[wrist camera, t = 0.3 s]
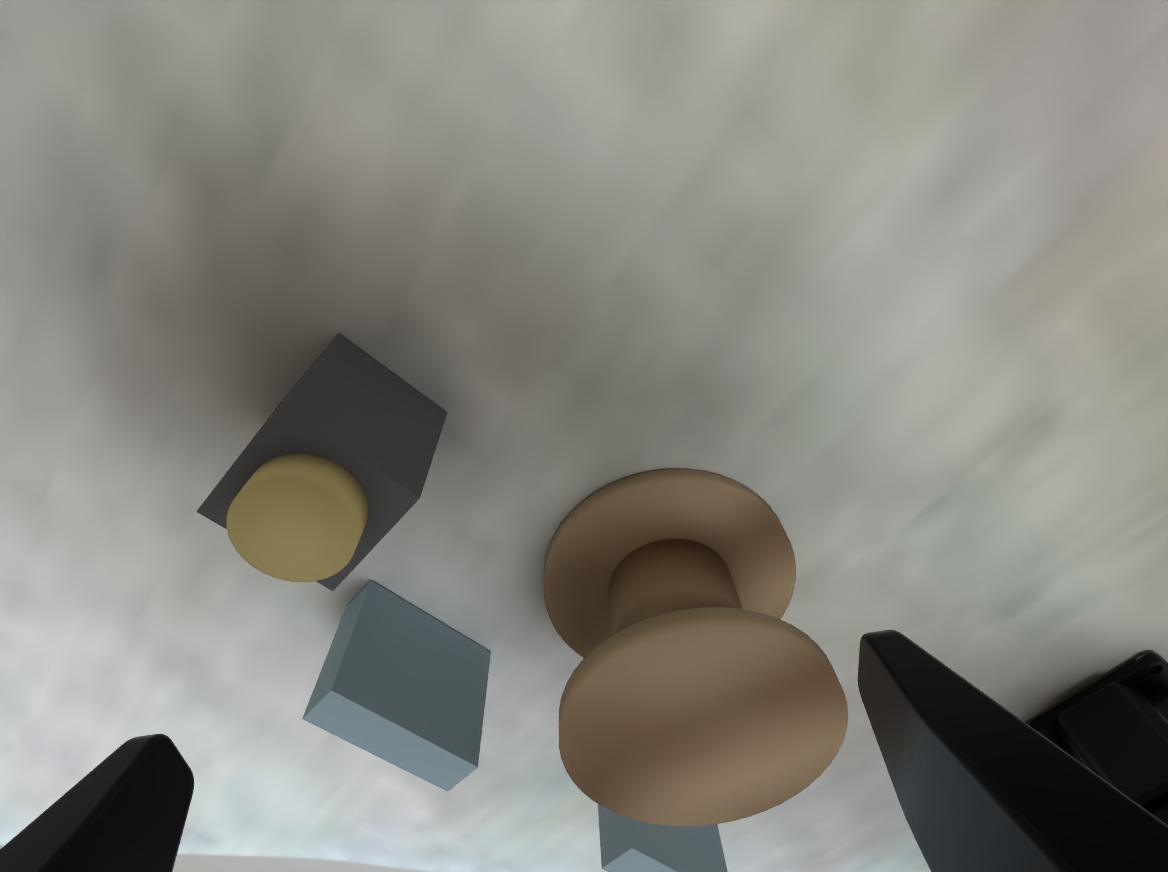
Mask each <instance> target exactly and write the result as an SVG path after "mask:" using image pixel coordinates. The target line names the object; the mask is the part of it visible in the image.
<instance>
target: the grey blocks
mask: <svg viewBox="0 0 1168 872" xmlns="http://www.w3.org/2000/svg"><path fill="white" fill-rule="evenodd" d="M490 653H491V652H490V651H488V650H486V649H485V648H483V647H481V646H480V645H478V644H477V643H475V642H473V641H472V640H470V639H468V638H467V637H465V636H463V635H462V634H460V633H458V632H457V631H455V630H453V629H452V628H450V627H448V626H447V625H445V624H443V623H442V622H440V621H438V620H437V619H435V618H433V617H432V616H430V615H428V614H427V613H425V612H423V611H422V610H420V609H418V608H417V607H415V606H413V605H412V604H410V603H408V602H407V601H405V600H403V599H402V598H400V597H398V596H397V595H395V594H393V593H392V592H390V591H388V590H387V589H385V588H383V587H382V586H380V585H378V584H377V583H375V582H373V581H372V580H371V581H370V582H369V583H368V584H367V585H366V586H365V587H364V588H363V589H362V590H361V591H360V592H359V593H358V595H357V596H356V597H355V598H354V599H353V600H352V601H351V602H350V603H349V604H348V605H347V606H346V609H345V611H344V614H343V616H342V619H341V621H340V624H339V627H338V629H337V632H336V634H335V637H334V639H333V642H332V644H331V647H330V649H329V652H328V655H327V657H326V660H325V662H324V665H323V667H322V670H321V672H320V675H319V678H318V680H317V683H316V685H315V688H314V690H313V693H312V695H311V698H310V700H309V703H308V706H307V708H306V711H305V713H304V716H303V718H302V719H304V720H306V721H308V722H310V723H312V724H314V725H316V726H318V727H320V728H322V729H324V730H326V731H328V732H330V733H332V734H334V735H336V736H338V737H340V738H342V739H344V740H346V741H348V742H350V743H352V744H354V745H356V746H358V747H360V748H362V749H364V750H366V751H368V752H370V753H372V754H374V755H376V756H378V757H380V758H382V759H384V760H386V761H388V762H390V763H392V764H394V765H396V766H398V767H400V768H402V769H404V770H406V771H408V772H410V773H412V774H414V775H416V776H418V777H420V778H422V779H424V780H426V781H428V782H430V783H432V784H434V785H436V786H438V787H440V788H442V789H444V790H446V791H449V790H450V789H452V788H453V787H454V786H455V785H457V784H458V783H459V782H460V781H461V780H463V779H464V778H465V777H466V776H468V775H469V774H470V773H471V772H472V771H474V770H475V769H476V768H477V767H478V760H479V751H480V742H481V734H482V725H483V716H484V707H485V698H486V689H487V680H488V671H489V662H490ZM598 812H599V829H600V846H601V863H602V869H604V870H606V871H608V872H727V867H726V863H725V858H724V853H723V849H722V844H721V840H720V835H719V830H718V826H717V824H712V825H703V826H667V825H659V824H652V823H646V822H642V821H638V820H634V819H631V818H628V817H625V816H622V815H619V814H617V813H615V812H612V811H610V810H608V809H606V808H604V807H603V806H601V805H599V804H598Z"/></svg>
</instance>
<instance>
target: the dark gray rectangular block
mask: <svg viewBox="0 0 1168 872" xmlns="http://www.w3.org/2000/svg"><path fill="white" fill-rule="evenodd" d="M446 415H447V412H446V411H445V410H443V409H442V408H441V407H439V406H438V405H437V404H435V403H434V402H433V401H431V400H430V399H428V398H427V397H426V396H424V395H423V394H422V393H420V392H419V391H418V390H416V389H415V388H413V387H412V386H411V385H409V384H408V383H407V382H405V381H404V380H402V379H401V378H400V377H398V376H397V375H396V374H394V373H393V372H392V371H390V370H389V369H387V368H386V367H385V366H383V365H382V364H381V363H379V362H378V361H377V360H375V359H374V358H372V357H371V356H370V355H368V354H367V353H366V352H364V351H363V350H362V349H360V348H359V347H357V346H356V345H355V344H353V343H352V342H351V341H349V340H348V339H347V338H345V337H344V336H342V335H341V334H340V333H339V334H338V335H337V336H336V337H335V338H334V340H333V341H332V342H331V343H330V344H329V346H328V347H327V348H326V349H325V350H324V352H323V353H322V354H321V355H320V356H319V358H318V359H317V360H316V361H315V362H314V364H313V365H312V366H311V367H310V368H309V370H308V371H307V372H306V373H305V374H304V375H303V377H302V378H301V379H300V380H299V381H298V383H297V384H296V385H295V386H294V387H293V389H292V390H291V391H290V392H289V393H288V395H287V396H286V397H285V398H284V399H283V401H282V402H281V403H280V404H279V405H278V407H277V408H276V409H275V411H274V412H273V413H272V415H271V416H270V417H269V418H268V420H267V421H266V422H265V424H264V425H263V426H262V427H261V429H260V430H259V431H258V433H257V434H256V435H255V437H254V438H253V439H252V440H251V442H250V443H249V444H248V446H247V447H246V448H245V449H244V451H243V452H242V453H241V455H240V456H239V457H238V459H237V460H236V461H235V462H234V464H233V465H232V466H231V468H230V469H229V470H228V471H227V473H226V474H225V475H224V477H223V478H222V479H221V481H220V482H219V483H218V484H217V486H216V487H215V488H214V490H213V491H212V492H211V494H210V495H209V496H208V497H207V499H206V500H205V501H204V503H203V504H202V505H201V506H200V508H199V509H198V510H197V512H198V513H200V514H201V515H203V516H205V517H207V518H208V519H210V520H212V521H213V522H215V523H217V524H219V525H220V526H222V527H224V528H225V529H227V531H228V535H229V538H230V540H231V542H232V544H233V546H234V547H235V549H236V550H237V552H238V553H239V554H240V555H241V556H242V557H243V558H244V559H245V560H246V561H247V562H248V563H249V564H250V565H252V566H253V567H255V568H256V569H258V570H259V571H261V572H263V573H265V574H267V575H270V576H272V577H275V578H278V579H282V580H286V581H292V582H312V581H316V582H318V583H320V584H322V585H323V586H325V587H327V588H329V589H330V590H332V591H334V589H335V588H336V587H337V586H338V585H339V584H340V583H341V582H342V581H343V580H344V579H345V578H346V577H347V576H348V574H349V573H350V572H351V571H352V570H353V569H354V568H355V567H356V566H357V565H358V564H359V563H360V562H361V561H362V559H363V558H364V557H365V556H366V555H367V554H368V553H369V552H370V551H371V550H372V549H373V548H374V547H375V546H376V544H377V543H378V542H379V541H380V540H381V539H382V538H383V537H384V536H385V535H386V534H387V533H388V532H389V531H390V529H391V528H392V527H393V526H394V525H395V524H396V523H397V522H398V521H399V520H400V519H401V518H402V517H403V515H404V514H405V513H406V512H407V511H408V510H409V509H410V508H411V507H412V506H413V505H414V504H415V503H416V502H417V500H418V499H419V498H420V496H421V493H422V490H423V486H424V483H425V480H426V477H427V474H428V471H429V468H430V465H431V461H432V458H433V455H434V452H435V449H436V446H437V443H438V440H439V437H440V433H441V430H442V427H443V424H444V421H445V418H446Z"/></svg>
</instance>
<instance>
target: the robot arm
mask: <svg viewBox="0 0 1168 872" xmlns="http://www.w3.org/2000/svg"><path fill="white" fill-rule="evenodd" d="M858 686H859V691H860V695H861V698H862V701H863V704H864V706H865V709H866V712H867V715H868V717H869V720H870V723H871V725H872V728H873V731H874V734H875V736H876V739H877V742H878V745H879V747H880V750H881V753H882V756H883V758H884V761H885V764H886V766H887V769H888V772H889V775H890V777H891V780H892V783H893V786H894V788H895V791H896V794H897V797H898V799H899V802H900V804H901V807H902V810H903V812H904V815H905V817H906V820H907V822H908V824H909V826H910V828H911V831H912V833H913V835H914V837H915V839H916V841H917V843H918V845H919V848H920V850H921V852H922V854H923V856H924V858H925V860H926V862H927V864H928V866H929V868H930V870H931V872H1168V663H1167V662H1166V661H1165V660H1164V659H1163V658H1162V657H1161V656H1160V655H1158V654H1148V655H1146V656H1143V657H1142V658H1140V659H1138V660H1137V661H1135V662H1133V663H1132V664H1130V665H1128V666H1127V667H1125V668H1123V669H1122V670H1120V671H1118V672H1117V673H1115V674H1113V675H1112V676H1110V677H1108V678H1107V679H1105V680H1103V681H1102V682H1100V683H1098V684H1096V685H1095V686H1093V687H1091V688H1090V689H1088V690H1086V691H1085V692H1083V693H1081V694H1080V695H1078V696H1076V697H1075V698H1073V699H1071V700H1070V701H1068V702H1066V703H1065V704H1063V705H1061V706H1060V707H1058V708H1056V709H1055V710H1053V711H1051V712H1050V713H1048V714H1046V715H1045V716H1043V717H1041V718H1040V719H1038V720H1036V721H1035V722H1033V723H1031V724H1030V725H1028V724H1026V723H1025V722H1023V721H1022V720H1021V719H1019V718H1018V717H1016V716H1015V715H1014V714H1012V713H1011V712H1010V711H1008V710H1007V709H1005V708H1004V707H1003V706H1001V705H1000V704H998V703H997V702H996V701H994V700H993V699H991V698H990V697H989V696H987V695H986V694H985V693H983V692H982V691H980V690H979V689H978V688H976V687H975V686H973V685H972V684H971V683H969V682H968V681H967V680H965V679H964V678H962V677H961V676H960V675H958V674H957V673H955V672H954V671H953V670H951V669H950V668H949V667H947V666H946V665H944V664H943V663H942V662H940V661H939V660H937V659H936V658H935V657H933V656H932V655H931V654H929V653H928V652H926V651H925V650H924V649H922V648H921V647H919V646H918V645H917V644H915V643H914V642H912V641H911V640H910V639H908V638H907V637H906V636H904V635H903V634H901V633H900V632H898V631H895V630H885V631H878V632H871V633H866V634H864V635H863V636H862V638H861V641H860V651H859V667H858ZM193 790H194V777H193V773H192V771H191V769H190V767H189V766H188V764H187V763H186V761H185V760H184V758H183V757H182V755H181V754H180V752H179V751H178V749H177V748H176V746H175V745H174V743H173V742H172V740H171V739H170V738H169V737H168V736H166V735H164V734H154V735H147V736H140V737H135V738H132V739H130V740H128V741H126V742H125V743H124V744H123V745H121V746H120V747H119V748H118V749H117V750H115V751H114V752H113V753H112V754H111V755H110V756H108V757H107V758H106V759H105V760H104V761H103V762H102V763H100V764H99V765H98V766H97V767H96V768H95V769H93V770H92V771H91V772H90V773H89V774H88V775H86V776H85V777H84V778H83V779H82V780H81V781H79V782H78V783H77V784H76V785H75V786H74V787H72V788H71V789H70V790H69V791H68V792H67V793H65V794H64V795H63V796H62V797H61V798H60V799H58V800H57V801H56V802H55V803H54V804H53V805H51V806H50V807H49V808H48V809H47V810H46V811H44V812H43V813H42V814H41V815H40V816H39V817H37V818H36V819H35V820H34V821H33V822H32V823H30V824H29V825H28V826H27V827H26V828H25V829H24V830H22V831H21V832H20V833H19V834H18V835H17V836H15V837H14V838H13V839H12V840H11V841H10V842H8V843H7V844H6V845H5V846H4V847H3V848H1V849H0V872H172V871H173V867H174V863H175V859H176V856H177V852H178V848H179V844H180V840H181V837H182V833H183V829H184V825H185V821H186V818H187V814H188V810H189V806H190V803H191V799H192V795H193Z"/></svg>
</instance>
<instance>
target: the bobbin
mask: <svg viewBox="0 0 1168 872" xmlns="http://www.w3.org/2000/svg"><path fill="white" fill-rule="evenodd" d="M795 579H796V564H795V556H794V552H793V549H792V546H791V543H790V541H789V539H788V537H787V535H786V533H785V531H784V529H783V527H782V525H781V523H780V521H779V519H778V517H777V516H776V514H775V513H774V511H773V510H772V509H771V507H770V506H769V505H768V504H767V503H766V502H765V501H764V500H763V499H762V498H761V497H760V496H759V495H757V494H756V493H754V492H753V491H752V490H750V489H749V488H748V487H746V486H744V485H742V484H740V483H738V482H736V481H734V480H732V479H729V478H727V477H724V476H721V475H719V474H714V473H710V472H706V471H700V470H691V469H663V470H654V471H648V472H644V473H640V474H635V475H632V476H629V477H626V478H623V479H621V480H618V481H616V482H614V483H611V484H609V485H607V486H605V487H603V488H601V489H600V490H598V491H597V492H595V493H594V494H592V495H591V496H589V497H588V498H586V499H585V500H584V501H583V502H582V503H580V504H579V505H578V506H577V507H576V508H575V509H574V510H573V511H572V512H571V513H570V514H569V515H568V516H567V517H566V518H565V520H564V521H563V523H562V524H561V525H560V527H559V528H558V530H557V531H556V533H555V535H554V537H553V539H552V541H551V543H550V547H549V550H548V553H547V556H546V562H545V569H544V597H545V603H546V608H547V611H548V614H549V617H550V619H551V622H552V623H553V625H554V627H555V629H556V631H557V632H558V633H559V635H560V636H561V637H562V639H563V640H564V641H565V642H566V643H567V644H568V645H569V646H570V647H571V648H572V649H573V650H574V651H575V652H577V653H578V654H579V655H581V656H582V657H584V659H583V660H582V662H581V663H580V664H579V665H578V667H577V668H576V669H575V670H574V672H573V673H572V675H571V677H570V679H569V680H568V682H567V684H566V686H565V689H564V692H563V694H562V697H561V702H560V707H559V749H560V754H561V759H562V761H563V764H564V766H565V769H566V771H567V773H568V774H569V776H570V777H571V779H572V781H573V782H574V783H575V784H576V785H577V786H578V788H579V789H580V790H581V791H582V792H583V793H584V794H586V795H587V796H588V797H589V798H590V799H592V800H593V801H595V802H596V803H598V804H599V805H601V806H603V807H604V808H606V809H608V810H610V811H612V812H615V813H617V814H619V815H622V816H625V817H628V818H631V819H634V820H638V821H642V822H646V823H652V824H659V825H667V826H703V825H712V824H719V823H724V822H730V821H734V820H738V819H742V818H746V817H749V816H752V815H755V814H758V813H760V812H763V811H766V810H768V809H770V808H772V807H775V806H777V805H779V804H781V803H783V802H784V801H786V800H788V799H790V798H791V797H793V796H795V795H796V794H798V793H799V792H801V791H802V790H803V789H805V788H806V787H808V786H809V785H810V784H811V783H812V782H813V781H814V780H816V779H817V778H818V777H819V776H820V775H821V774H822V773H823V771H824V770H825V769H826V768H827V767H828V766H829V765H830V763H831V762H832V760H833V759H834V757H835V756H836V754H837V753H838V751H839V748H840V746H841V744H842V742H843V740H844V736H845V733H846V729H847V721H848V709H847V701H846V698H845V695H844V691H843V689H842V687H841V685H840V682H839V680H838V678H837V676H836V674H835V672H834V669H833V667H832V665H831V664H830V662H829V660H828V658H827V656H826V654H825V653H824V652H823V651H822V649H821V648H820V647H819V646H818V644H817V643H815V642H814V641H813V640H812V639H811V638H810V637H809V636H808V635H807V634H805V633H804V632H802V631H801V630H799V629H798V628H796V627H794V626H793V625H791V624H789V623H787V622H784V621H782V620H780V619H781V618H782V616H783V614H784V612H785V611H786V609H787V607H788V605H789V602H790V600H791V597H792V594H793V590H794V585H795Z"/></svg>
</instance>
